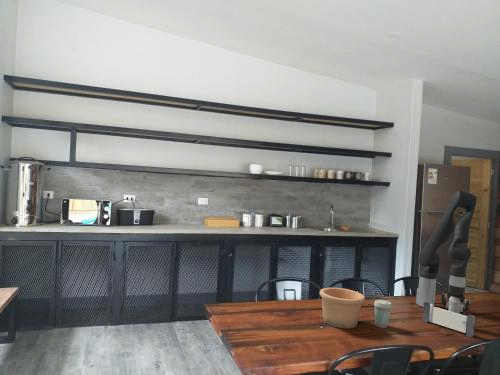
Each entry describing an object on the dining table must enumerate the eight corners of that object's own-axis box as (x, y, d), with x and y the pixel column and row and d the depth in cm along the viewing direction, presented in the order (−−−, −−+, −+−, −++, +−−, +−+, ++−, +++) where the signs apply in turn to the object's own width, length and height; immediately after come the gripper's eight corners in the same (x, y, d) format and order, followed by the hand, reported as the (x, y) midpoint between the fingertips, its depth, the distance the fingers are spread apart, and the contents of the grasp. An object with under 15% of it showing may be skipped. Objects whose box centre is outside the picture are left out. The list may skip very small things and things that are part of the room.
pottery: (314, 324, 183) (316, 295, 183) (321, 311, 204) (323, 285, 203) (360, 334, 175) (363, 303, 175) (363, 319, 196) (365, 292, 196)
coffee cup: (381, 330, 183) (383, 305, 183) (368, 323, 191) (370, 299, 190) (394, 328, 187) (396, 303, 187) (380, 321, 195) (382, 298, 194)
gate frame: (422, 321, 200) (423, 302, 200) (424, 320, 202) (425, 302, 202) (471, 337, 182) (473, 316, 182) (473, 336, 184) (475, 316, 184)
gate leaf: (428, 321, 198) (429, 304, 198) (429, 320, 199) (431, 303, 199) (465, 333, 185) (466, 314, 185) (466, 332, 186) (468, 314, 186)
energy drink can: (462, 327, 196) (465, 298, 196) (452, 327, 194) (455, 298, 194) (454, 323, 202) (456, 295, 201) (444, 323, 200) (446, 294, 200)
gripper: (439, 282, 201) (437, 313, 201) (469, 289, 190) (466, 322, 190) (445, 280, 206) (443, 311, 206) (474, 287, 195) (472, 319, 195)
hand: (454, 316), depth 198 cm, fingers closed on energy drink can, 6 cm apart
